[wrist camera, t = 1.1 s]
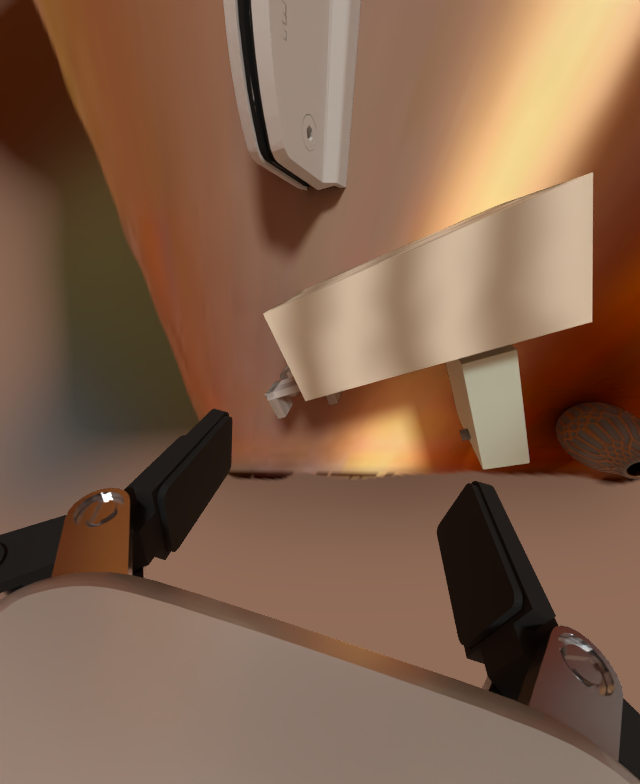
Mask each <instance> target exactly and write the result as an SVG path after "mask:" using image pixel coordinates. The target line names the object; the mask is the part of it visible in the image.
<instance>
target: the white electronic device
mask: <svg viewBox="0 0 640 784" xmlns="http://www.w3.org/2000/svg"><path fill="white" fill-rule="evenodd" d="M223 1H224V12H225V22H226V33H227V41H228V49H229V56H230V63H231V70H232V77H233V83H234V89H235V94H236V100H237V105H238V110H239V115H240V119H241V124H242V129H243V133H244V137H245V141H246V145H247V149H248V152H249V154H250V156H251V158H252V160H253V161H254V162H256V163H257V164H259V165H261V166H262V167H264V168H265V169H267V170H269V171H270V172H272V173H274V174H275V175H277V176H278V177H280V178H282V179H283V180H285V181H286V182H288V183H290V184H291V185H293V186H295V187H296V188H299V189H302V190H306V191H307V186H309V184H310V185H311V186H312V187H314V188H315V189H317V190H321V189H324V188H328V187H331V186H337V187H339V188H345V187H346V180H347V168H348V155H349V142H350V130H351V117H352V105H353V92H354V80H355V67H356V55H357V42H358V30H359V17H360V4H361V0H223Z"/></svg>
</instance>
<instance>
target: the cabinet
mask: <svg viewBox="0 0 640 784" xmlns="http://www.w3.org/2000/svg"><path fill="white" fill-rule="evenodd" d="M592 283H593V172H592V173H589V174H586V175H584V176H581V177H578V178H575V179H572V180H569V181H566V182H563V183H561V184H558V185H555V186H552V187H549V188H546V189H543V190H540V191H538V192H535V193H532V194H529V195H526V196H523V197H520V198H518V199H515V200H512V201H509V202H506V203H503V204H500V205H497V206H495V207H492V208H490V209H488V210H486V211H483V212H481V213H479V214H476V215H474V216H472V217H470V218H467V219H465V220H463V221H460V222H458V223H456V224H454V225H451V226H449V227H447V228H445V229H442V230H440V231H438V232H435V233H433V234H431V235H429V236H426V237H424V238H422V239H419V240H417V241H415V242H413V243H410V244H408V245H406V246H403V247H401V248H399V249H397V250H394V251H392V252H390V253H387V254H385V255H383V256H381V257H378V258H376V259H374V260H371V261H369V262H367V263H365V264H362V265H360V266H358V267H356V268H353V269H351V270H349V271H346V272H344V273H342V274H340V275H337V276H335V277H333V278H330V279H328V280H326V281H324V282H321V283H319V284H317V285H314V286H312V287H310V288H308V289H305V290H303V291H302V292H300V293H298V294H296V295H295V296H293V297H291V298H290V299H288V300H286V301H284V302H283V303H281V304H279V305H277V306H276V307H274V308H272V309H271V310H269V311H267V312H265V313H264V317H265V319H266V321H267V323H268V325H269V327H270V329H271V331H272V333H273V335H274V337H275V339H276V341H277V343H278V345H279V348H280V350H281V352H282V354H283V356H284V358H285V360H286V362H287V364H288V365H287V367H286V368H285V369H284V371H283V372H282V373H281V375H280V377H281V379H282V380H281V381H278V382H275V383H274V384H273V385H272V386H271V388H270V389H269V390H268V392H267V393H266V394H265V395H266V397H267V399H268V401H269V403H270V404H271V406H272V408H273V410H274V412H275V414H276V415H277V417H278V419H280V418H283V417H286V416H287V414H288V412H289V410H290V408H291V407H292V405H293V402H292V400H291V398H290V397H294V396H298V394H299V392H300V391H301V393H302V395H303V397H304V399H305V401H308V400H312V399H315V398H319V397H323V396H326V398H327V401H328V403H329V405H333V404H337V403H339V399H340V395H341V391H344V390H348V389H352V388H355V387H359V386H362V385H366V384H370V383H373V382H377V381H380V380H384V379H388V378H391V377H395V376H398V375H402V374H406V373H409V372H413V371H417V370H420V369H424V368H427V367H431V366H435V365H438V364H442V363H445V362H449V361H453V360H456V359H460V358H463V357H467V356H471V355H474V354H478V353H481V352H485V351H489V350H492V349H496V348H500V347H503V346H507V345H510V344H514V343H518V342H521V341H525V340H528V339H532V338H536V337H539V336H543V335H546V334H550V333H554V332H557V331H561V330H564V329H568V328H572V327H575V326H579V325H583V324H586V323H590V322H592ZM289 395H290V396H289Z"/></svg>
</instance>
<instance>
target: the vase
mask: <svg viewBox="0 0 640 784" xmlns="http://www.w3.org/2000/svg"><path fill="white" fill-rule="evenodd" d="M555 429H556V435H557V438H558V441H559V443H560V444H561V446H562V447H563V448H564V449H565V451H566V452H567V453H568V454H569V455H570V456H571V457H573V458H574V459H575V460H577V461H579V462H580V463H582V464H584V465H586V466H588V467H590V468H593V469H596V470H599V471H604V472H609V473H616V474H620V475H623V476H625V477H628V478H632V479H639V478H640V419H639V418H637V417H636V416H635V415H633V414H631V413H630V412H628V411H626V410H624V409H622V408H620V407H617V406H614V405H611V404H607V403H601V402H587V403H581V404H577V405H575V406H572V407H570V408H568V409H567V410H566V411H564V412H563V413H562V414H561V415H560V417H559V418H558V420H557V423H556V427H555Z"/></svg>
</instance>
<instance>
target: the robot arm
mask: <svg viewBox="0 0 640 784" xmlns="http://www.w3.org/2000/svg"><path fill="white" fill-rule="evenodd" d="M231 453H232V417H229V414H228V413H227V412H224V411H221V410H217V409H212V410H211V411H210V412H209V413H208V414H207V415H206V416H205V417H204V418H203V419H202V420H201V421H200V422H199V423H198V424H197V425H196V426H195V427H194V428H193V429H192V430H191V431H190V432H189V433H188V434H187V435H183V436H181V437H180V438H178V439H177V440H176V441H175V442H174V443H173V444H172V445H171V446H169V447H168V448H167V449H166V450H165V451H164V452H163V453H162V454H161V455H160V456H159V457H158V458H157V459H156V460H155V461H154V462H153V463H152V464H151V465H150V466H149V467H147V469H145V470H144V471H143V472H142V473H141V474H140V475H139V476H138V477H137V478H136V479H135V480H134V481H133V482H132V483H131V484H130V485H129V486H128V487H127V488H126V489H124V490H122V489H119V488H104V489H100V490H97V491H94V492H91V493H89V494H87V495H85V496H84V497H82V498H81V499H79V500H78V501H77V502H75V503H74V504H73V506H72V507H71V508H70V509H69V511H68V513H67V515H64V516H61V517H58V518H55V519H51V520H48V521H45V522H41V523H38V524H35V525H31V526H28V527H25V528H22V529H19V530H15V531H12V532H9V533H6V534H2V535H0V784H640V714H639V713H638V712H637V711H636V710H635V709H634V708H633V707H632V706H631V705H629V703H628V702H626V701H625V699H623V692H622V686H621V684H620V681H619V679H618V676H617V674H616V672H615V671H614V669H613V667H612V666H611V665H610V663H609V661H608V660H607V659H606V657H605V656H604V655H603V654H602V653H601V651H600V650H599V649H598V648H597V647H596V646H595V645H594V644H593V643H592V642H591V641H590V640H589V639H587V638H586V637H585V636H583V635H582V634H581V633H579V632H578V631H576V630H574V629H572V628H570V627H566V626H558V624H557V622H556V620H555V618H554V617H555V616H556V615H555V614H554V611H553V609H552V607H551V605H550V603H549V601H548V599H547V597H546V595H545V593H544V590H543V588H542V586H541V584H540V582H539V580H538V578H537V576H536V574H535V572H534V570H533V568H532V566H531V564H530V561H529V559H528V558H527V555H526V553H525V551H524V549H523V547H522V545H521V543H520V541H519V539H518V537H517V535H516V533H515V531H514V528H513V526H512V524H511V522H510V520H509V518H508V516H507V514H506V512H505V510H504V508H503V506H502V503H501V501H500V499H499V497H498V495H497V493H496V491H495V489H494V488H493V486H491V485H488V484H484V483H481V482H477V481H474V482H472V483H471V484H467V485H466V486H465V487H464V489H463V490H462V492H461V493H460V495H459V496H458V498H457V499H456V500H455V502H454V503H453V505H452V506H451V508H450V509H449V511H448V512H447V514H446V515H445V516H444V518H443V519H442V521H441V522H440V524H439V526H438V529H437V536H438V541H439V546H440V551H441V556H442V560H443V565H444V570H445V575H446V580H447V585H448V590H449V595H450V599H451V605H452V609H453V614H454V619H455V624H456V628H457V634H458V637H459V641H460V643H461V644H462V645H464V647H465V652H466V656H467V658H468V659H471V660H474V661H477V662H480V663H483V664H485V667H486V671H487V675H488V676H487V678H486V680H485V683H484V685H483V687H482V689H481V688H479V687H476V686H473V685H470V684H467V683H465V682H462V681H459V680H456V679H453V678H450V677H447V676H444V675H441V674H438V673H435V672H433V671H430V670H427V669H424V668H421V667H418V666H415V665H412V664H409V663H406V662H403V661H400V660H397V659H394V658H391V657H388V656H385V655H382V654H379V653H376V652H373V651H370V650H367V649H364V648H361V647H358V646H355V645H352V644H349V643H346V642H343V641H340V640H337V639H334V638H331V637H328V636H325V635H322V634H319V633H316V632H313V631H310V630H307V629H304V628H301V627H298V626H295V625H292V624H289V623H286V622H283V621H280V620H277V619H274V618H271V617H268V616H265V615H261V614H258V613H255V612H252V611H249V610H246V609H243V608H240V607H237V606H234V605H230V604H228V603H225V602H222V601H218V600H215V599H212V598H209V597H206V596H203V595H200V594H196V593H193V592H190V591H186V590H183V589H180V588H177V587H174V586H170V585H167V584H163V583H160V582H157V581H154V580H149V579H146V566H147V565H149V563H150V562H151V561H152V559H153V558H154V557H157V558H160V559H163V560H166V558H167V557H168V555H169V554H170V552H171V551H172V552H175V551H176V550H177V549H178V548H179V547H180V545H181V544H182V542H183V541H184V539H185V538H186V536H187V535H188V533H189V532H190V530H191V529H192V527H193V526H194V524H195V523H196V521H197V519H198V518H199V517H200V515H201V513H202V512H203V511H204V509H205V508H206V506H207V505H208V503H209V502H210V500H211V498H212V497H213V495H214V494H215V492H216V491H217V489H218V488H219V486H220V485H221V483H222V482H223V480H224V479H225V477H226V476H227V474H228V473H229V471H230V468H231Z"/></svg>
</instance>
